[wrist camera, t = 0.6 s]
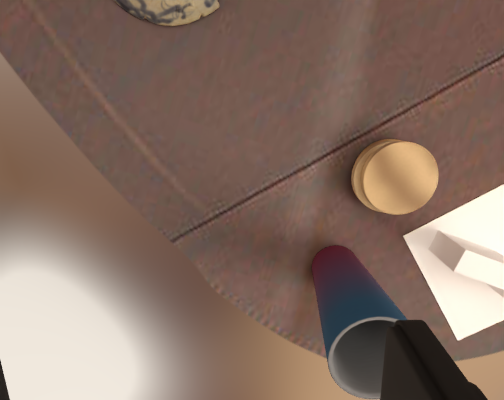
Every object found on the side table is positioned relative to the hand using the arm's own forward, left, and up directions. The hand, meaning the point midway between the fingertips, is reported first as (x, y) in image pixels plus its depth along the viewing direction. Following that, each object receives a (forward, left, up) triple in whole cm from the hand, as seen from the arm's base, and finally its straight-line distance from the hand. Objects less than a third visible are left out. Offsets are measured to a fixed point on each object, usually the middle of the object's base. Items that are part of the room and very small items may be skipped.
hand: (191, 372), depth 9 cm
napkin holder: (-8, +27, -30) cm, 41 cm away
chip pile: (-9, +12, -30) cm, 33 cm away
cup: (+2, +15, -30) cm, 33 cm away
